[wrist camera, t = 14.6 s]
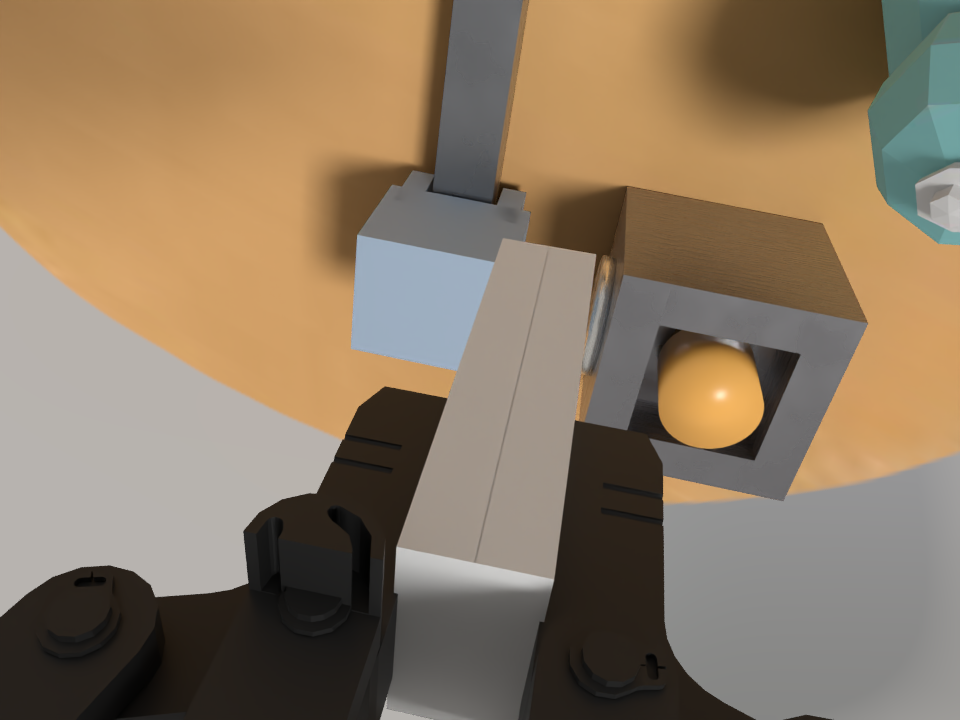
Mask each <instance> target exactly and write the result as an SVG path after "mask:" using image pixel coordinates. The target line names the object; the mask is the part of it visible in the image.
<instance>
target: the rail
mask: <svg viewBox="0 0 960 720" xmlns="http://www.w3.org/2000/svg"><path fill="white" fill-rule="evenodd" d="M528 3H529V0H454V1H453V10H452V19H451V28H450V37H449V46H448V56H447V65H446V74H445V83H444V92H443V101H442V110H441V119H440V129H439V138H438V147H437V156H436V165H435V174H434V183H433V192H432V193H437V194H442V195H448V196H453V197H458V198H463V199H468V200H473V201H478V202H483V203H488V204H494V205H497V199H498V193H499V186H500V180H501V174H502V167H503V161H504V155H505V149H506V142H507V136H508V130H509V123H510V117H511V111H512V104H513V98H514V92H515V85H516V79H517V73H518V66H519V60H520V54H521V48H522V41H523V35H524V29H525V22H526V16H527V10H528Z"/></svg>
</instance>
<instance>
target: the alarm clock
mask: <svg viewBox="0 0 960 720" xmlns="http://www.w3.org/2000/svg"><path fill="white" fill-rule="evenodd" d="M882 10H883V20H884V31H885V41H886V51H887V61H888V72H889V77H888V78H887V79H886V80H885V81H884V82H883V84H882V86H881V88H880V89H879V91H878V93H877V95H876V97H875V98H874V100H873V102H872V104H871V106H870V107H869V109H868V118H869V126H870V134H871V142H872V151H873V159H874V167H875V175H876V184H877V187H878V189H879V191H880V192H881V194H882V196H883V197H884V199H885V201H886V202H887V204H888V205H889V206H890V207H892V208H893V209H894V210H896V211H897V212H898V213H899V214H901V215H902V216H903V217H905V218H906V219H907V220H909V221H910V222H911V223H912V224H914V225H915V226H916V227H918V228H919V229H920V230H921V231H923V232H924V233H925V234H927V235H928V236H929V237H930V238H932V239H933V240H934V241H936V242H937V243H938V244H951V245H960V0H882Z"/></svg>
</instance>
